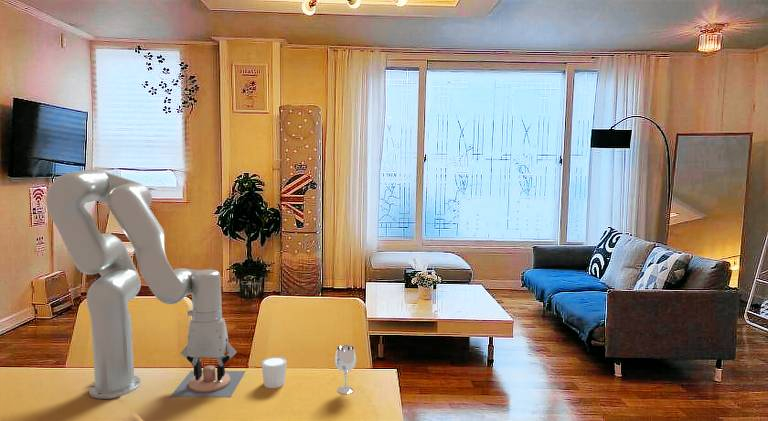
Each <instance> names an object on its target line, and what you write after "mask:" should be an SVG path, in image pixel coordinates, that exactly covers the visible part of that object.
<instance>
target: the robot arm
mask: <svg viewBox="0 0 768 421" xmlns="http://www.w3.org/2000/svg"><path fill="white" fill-rule="evenodd" d="M152 199H153V197H152V193H151V191H150V189H149V188H148V187H147V186H146V185H143V184H142V183H139V182H137V181H134V180H130V179H128V178H126V177H125V178H124V177H121V176H119V175H116V174H112V173H110V172H107V171H103V170H99V169H84V170H75V171H69V172H66V173H64V174H62V175H60V176H58V177H57V178H56V179H55V180H54V181H53V182H52V183H51V184H50V186H49V188H48V189H47V193H46V197H45V204H46V209H47V212H48V214H49V217H50V218H51V220H52V222H53V224H54V225H55V228H56V230H57V231H58V233H59V235H60V237H61V239H62V240H61V241H63V244H64V245H65V247H66V250H67V252H68V254H69V255H70V257H71V259H72V261H73V264H74V265H75V267H76V268H77V270H78V271H79V272H80V273H82V274H85V275H95V274H99V275H100V277H99V278H98V279H97V280H95V281H93V282H92V283H91V285H90V287H89V288H88V289H87V292H86V305H87V309H88V313H89V317H90V324H91V337H92V338H91V340H92V352H93V355H92V356H93V369H94V372H93V373H94V383H92V384H91V385H90V386H89V388H88V393H89V394H88V395H89V396H91V398H95V399H100V400H101V399H102V400H103V399H104V400H106V399H107V400H108V399H117V398H120V397H121V396H124V395H126V394H129V393H131V392H133V391H135V390H137V389H138V388H139V387H140V385H141V384H142V382H141V378H139V376H137V375H135V366H134V364H135V363H134V345H133V343H134V342H133V328H132V327H133V326H132V318H131V314H130V311H129V306H128V305H129V304H128V303H129V302H130V301H132V300H133V299H134V298H135V297H136V296H137V295H138V294H139V291H140V290H141V286H142V281H141V278H140V275H139V272H140V274H141V276H142V278H143V281H144V282H145V283H146V285H147V287H148V288H149V290H150V291H151V293H152V295H154V297H155V298H156V299H157V300H158V301H160V302H161V303H163V304H166V305H175V304H178V303H179V302H181V301H182V300H183V299H184V298H185V297H187V296H189V295H191V296H192V298H191V299H192V310H188V311H187V316H190V317H191V319H190V321H189V325H188V333H187V344H186V346H185V347H184V348H183V349H182V350H181V352H180V354H181V356H183V357H184V358H186V360H187V361H188V362H189V363H191V366H192V367H193V371H194V376H195V379H196V380H199V378H200V377H201V376H202V371H203V368H202V365H203V364H202V361H200V360H201V359H216V361H217V363H218V365H217V367H216V371H217V380H221V378H222V377H223V376H224V375H225V371H226V370H225V369H226V368H225V364H226V363H227V362H228V361H230V359H231V358H233V357H234V356H235V355H236V353H237V350H236V349H235V348H234V347H233V346H232V345H231V343H230V342H229V336H228V335H229V334H228V329H227V324H226V320H225V318H224V317H223V313H222V312H223V310H222V307H223V306H222V278H221V273H220V272H219V271H218V270H217V269H193V268H192V269H190V268H185V267H182V268H181V267H180V268H179V267H177V268H175V269H173V267H172V266H171V264H170V262H169V260H168V258H167V254H166V250H165V240H166V236H165V235H166V234H165V230H164V228H163V227H162V225H161V224H160V222H159V221H158V219H157V218H156V216H155V214H154V213H153V211H152V209H151V208H150V206H151V204H152V201H153V200H152ZM91 202H101V203H103V204H106V205H107V207H108V209H109V211H110V212H111V214H112V216H113V217H114V219H115V220H116V221H117V224H118V225H119V226H120V228H121V229H122V231H123V232H124V235H125V236H126V237H127V239H128V240H129V242H130V243H131V245H132V247H133V250H134V255H135V258H136V261H137V266H138V269H139V272H138V270H137V268H136V265H135V264H134V262H133V260H132V259H133V258H132V257H131V255H130V254H129V251H128V249H127V248H126V245H125V243H123V241H122V240H121V238H119V237H118V236H116V235H114V234H112V233H101V232H100V229H99V227H98V226H97V223H96V221H95V220H94V218H93V216H92V215H91V213H90V212H88V210H87V209H86V208H85V204H86V203H91ZM226 352H228V353H227V354H226ZM225 354H226V355H225Z"/></svg>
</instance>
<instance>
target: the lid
mask: <svg viewBox="0 0 768 421" xmlns="http://www.w3.org/2000/svg"><path fill="white" fill-rule="evenodd" d="M202 371H203V373H202V376H201V377H200V378H199V380H196V379H195V376H194V377H192V378H191V379H190V380H189V388H190V389H191V390H192V391H195V392H213V391H217V390H220V389H222V388H224V387H226V386H227V385H229V383H230V375H229V374H227V373H225V375H224V376H223V377H222V378H221V380H217V370H216V366H215V365H212V364H211V365H205V366H204V367H203V368H202Z"/></svg>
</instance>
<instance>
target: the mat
mask: <svg viewBox="0 0 768 421" xmlns="http://www.w3.org/2000/svg"><path fill="white" fill-rule="evenodd" d="M202 373H203V370H202ZM225 373H227V374H229V375H230V383H229V385H227V386H226V387H224V388H222V389H220V390H217V391H213V392H195V391H192V390H191V389H190V388H189V380H190V379H191V378H192V377H194V370H190V371H189V373H188V374H187V375H186V376H185V378H183V380H182V381H181V382H180V383H179V385H178V386H177V387H176V388H175V390H174V391H173V392H172V393H171V394H170V396H169V398H231V397H232V396H233V394H234V392H235V391H236V389H237V387H238V385H239V383H240V382H241V380H242V379H243V377H244V375H245V373H246V370H225Z"/></svg>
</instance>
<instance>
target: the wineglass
mask: <svg viewBox="0 0 768 421" xmlns="http://www.w3.org/2000/svg"><path fill="white" fill-rule="evenodd" d="M355 351H356V350H355V347H354V346H353V345H349V344H342V345H338V346H337V347H336V351H335V355H334V356H335V357H334V364H335V367H336V368H337V370H339V371H342V372H343V377H344V385H343V386H340V387H337V392H338V393H340V394H343V395H345V394H346V395H347V394H351V393H353V392H354V391H355V390H354V387H352V386H350V385H347V378H348V372H350V371H351V370H353V369H355V366H356V365H357V364H356V363H357V356H356V352H355Z"/></svg>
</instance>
